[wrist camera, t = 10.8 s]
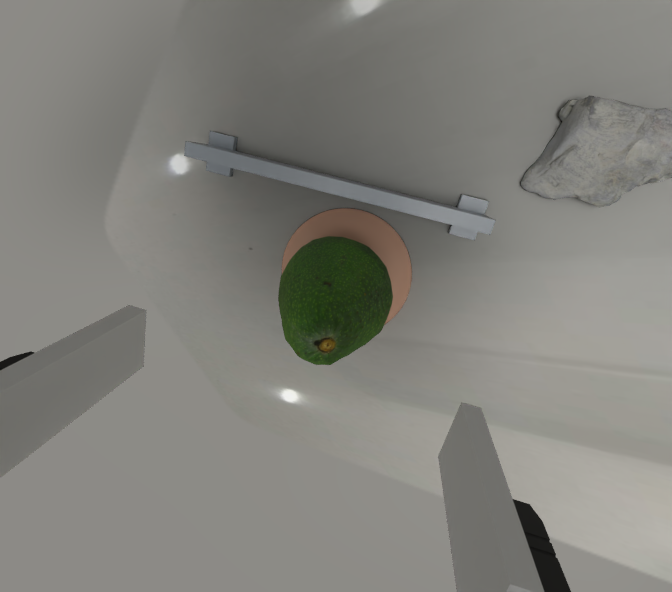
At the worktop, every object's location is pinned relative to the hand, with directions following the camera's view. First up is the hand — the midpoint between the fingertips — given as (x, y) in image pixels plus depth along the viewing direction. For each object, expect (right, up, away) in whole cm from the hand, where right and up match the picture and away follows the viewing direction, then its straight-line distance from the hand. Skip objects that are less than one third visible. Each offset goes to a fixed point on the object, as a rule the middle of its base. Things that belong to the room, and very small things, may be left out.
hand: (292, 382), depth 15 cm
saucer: (+3, +5, +16) cm, 18 cm away
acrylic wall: (+2, +12, +14) cm, 19 cm away
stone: (+21, +14, +11) cm, 28 cm away
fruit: (+2, +5, +16) cm, 17 cm away
